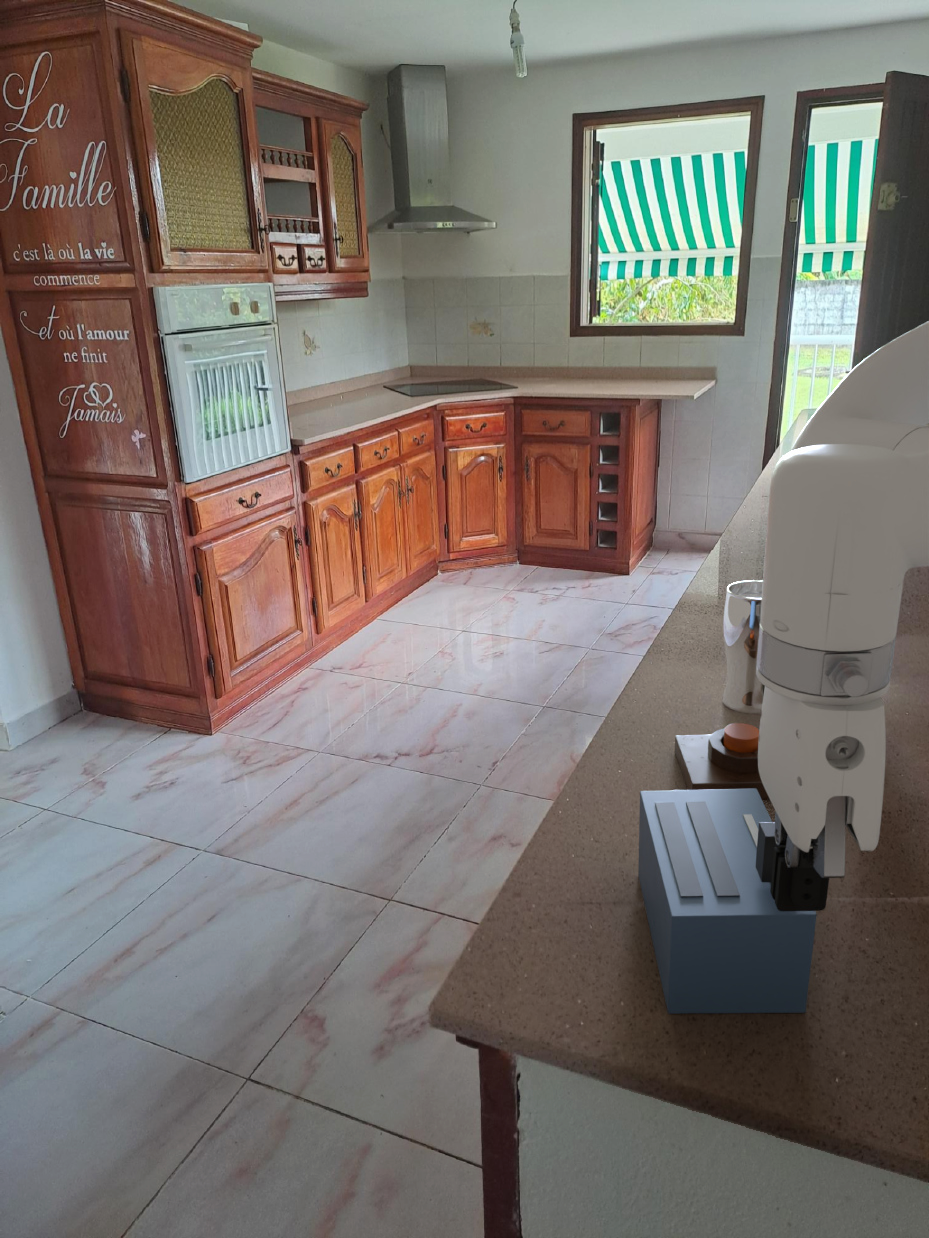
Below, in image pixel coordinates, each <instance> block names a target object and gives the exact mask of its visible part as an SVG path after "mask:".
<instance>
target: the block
mask: <svg viewBox="0 0 929 1238" xmlns="http://www.w3.org/2000/svg"><path fill="white" fill-rule="evenodd" d="M724 729H725V727H724V728H721V729H718V730H715V731H713V732H712V733H711V734H687V735H686V734H685V735H675V737H674V755H675V757H676V760H677V763H678V766H679V770H680V772H681V775H682V778H683V781H684V784H685V786H686V790H711V789H755V788H756V789H757V791H758V793H759V795H760V797H761V799H762V801H771V800H770V798H769V796H768V794H767V792H766V790H765V788H764V786H763V783H762V781H761V778H760V774H759V769H758V750H757V751H754V752H744V753H740V752H736V751H732V750H729V749H727V748H726V747H724Z"/></svg>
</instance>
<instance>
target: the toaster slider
mask: <svg viewBox="0 0 929 1238" xmlns="http://www.w3.org/2000/svg"><path fill="white" fill-rule="evenodd" d="M774 847H783V845H777V844H776V841H775V821H772V822H763V823H759V828H758V841H757V853H756V866H755V867H756V870H757V872H758V874H759V877H760V879H761V882H771V879H772V868H773V857H774Z"/></svg>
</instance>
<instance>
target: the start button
mask: <svg viewBox="0 0 929 1238" xmlns="http://www.w3.org/2000/svg"><path fill="white" fill-rule="evenodd" d="M724 728H725V729H724ZM724 728H723V729H724V747H726V748H727V749H729V750H732V751H736V752H740V753H744V752H754V751H757V750H758V742H759V728H757V727H756V726H755V725H752V724H749V723H744V722H743V723H742V722H733V723H729V724H728V725H726V726H725V727H724Z"/></svg>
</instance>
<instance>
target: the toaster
mask: <svg viewBox="0 0 929 1238" xmlns="http://www.w3.org/2000/svg"><path fill="white" fill-rule="evenodd" d="M766 807H767V806H765V803H764V800H762V799H761V797H760V795H759V793H758V791H757V789H756V788H755V789H711V790H688V789H673V790H640V791H639V822H638V823H639V824H638V869H637V870H638V873H637V875H638V876H637V877H638V880H639V884H640V890H641V894H642V899H643V903H644V909H645V908H646V909H645V914H646V918H647V922H648V927H649V931H650V936H651V942H652V945H653V950H654V954H655V959H656V960H655V961H656V964H657V969H658V973H659V978H660V984H661V987H662V992H663V997H664V1001H665V1006H666V1010H667V1011H666V1012H667V1014H670V1015H672V1014H673V1015H674V1014H677V1015H679V1014H798V1013H799V1014H804V1013H806V1012H807V1003H808V996H809V995H808V994H809V986H810V977H811V968H812V959H813V949H814V941H815V933H816V925H817V917H818V916H817V913H816V912H817V911H779V910H778V909H777V907H776V904H775V900H774V899H773V897H772V895H771V892H770V890H771V882H761V879H760V877H759V874H758V872H757V870H756V867H755V866H756V853H757V841H758V828H759V823H763V822H773V820H772V818H771V815H770V814H769V812H768V809H767V808H766Z"/></svg>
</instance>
